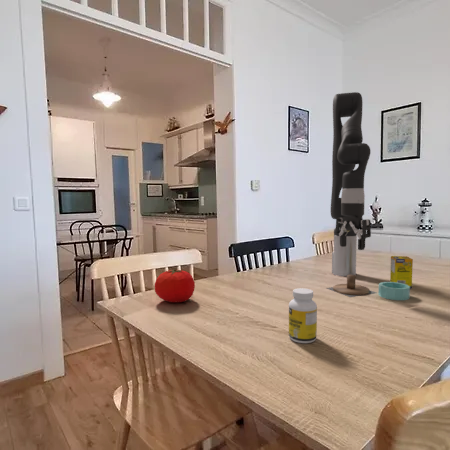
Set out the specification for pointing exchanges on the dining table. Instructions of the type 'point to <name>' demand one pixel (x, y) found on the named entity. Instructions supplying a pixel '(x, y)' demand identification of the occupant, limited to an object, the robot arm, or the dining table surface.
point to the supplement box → (401, 270)
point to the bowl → (394, 291)
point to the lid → (351, 287)
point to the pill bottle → (302, 316)
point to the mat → (352, 295)
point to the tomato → (174, 285)
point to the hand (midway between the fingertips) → (351, 248)
